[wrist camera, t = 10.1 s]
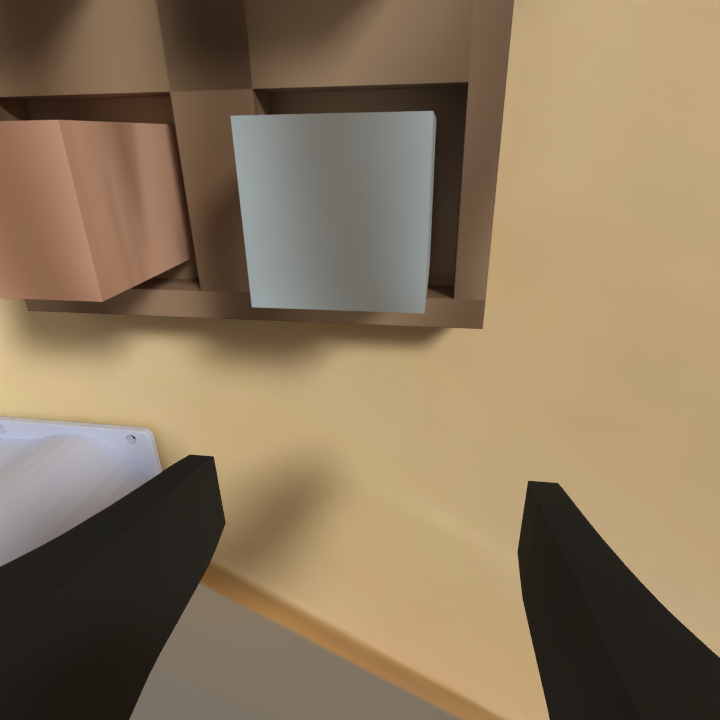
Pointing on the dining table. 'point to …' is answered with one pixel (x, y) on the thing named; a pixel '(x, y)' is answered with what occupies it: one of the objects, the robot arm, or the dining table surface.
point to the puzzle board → (272, 84)
